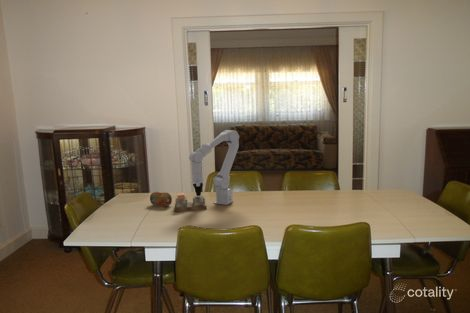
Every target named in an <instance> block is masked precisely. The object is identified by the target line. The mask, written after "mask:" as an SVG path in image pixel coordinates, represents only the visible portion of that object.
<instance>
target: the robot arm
mask: <svg viewBox="0 0 470 313" xmlns="http://www.w3.org/2000/svg"><path fill="white" fill-rule="evenodd" d="M239 139H240V135H239V133H238V131H236V130H231V129H230V130H229V129H225V130H223V131H221V132H220V133H219V134H218V135H216V137H215V138H213V139H212V140H211V141H210V142H209V143H202V145H201V147H199V148H198V149H195V151H192V152H190V155H189V156H188V159H189V161H190V162H191V164H190V165H191V176H192V180H190V183H193V184H192V186H193V188H194V191H195V194H196V195H195V196H202V188H203V181H204V180H203V168H202V162H203V159H204V158H206V156H208V155H209V154H210V153H211V152H212V150H213V149H214V148H215V147H217V146H218V145H219V144H221V143H222V142H226V144H227V145H228V150H227V152H226V154H225V158H224V160H223V163H222V166H221V168H220V171H219V172H217V173H216V176H215V177H214V179H213V181H212V182H213V185H214V186H215V197H216V199H215V201H214V202H213V204H217V205H225V206H226V205H227V206H228V205H229V204H232V203H233V202H234V200H233V198H234V197H233V190H232V189H231V188H229V186H230V180H231V176H230V172H231V170H232V166H233V164H234V161H235V158H236V156H237V153H238V150H239V148H240V147H239V146H240V143H239V141H240V140H239Z"/></svg>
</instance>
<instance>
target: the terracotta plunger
mask: <svg viewBox="0 0 470 313" xmlns="http://www.w3.org/2000/svg"><path fill="white" fill-rule="evenodd" d="M176 194H177V196H176V198H178V200H184V199H185V197H186V196H185V193H183V192H182V193H176Z"/></svg>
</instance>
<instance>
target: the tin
mask: <svg viewBox="0 0 470 313" xmlns="http://www.w3.org/2000/svg"><path fill="white" fill-rule="evenodd" d="M149 200H150V203H151V205H152V206H155V207H164V208H166V207H169V206H170V205H172V202H173V198H172V195H171V194H170V193H169V192H166V191H165V192H164V191H163V192H162V191H153V192H151V194H150V196H149Z"/></svg>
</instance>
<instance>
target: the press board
mask: <svg viewBox="0 0 470 313" xmlns="http://www.w3.org/2000/svg"><path fill="white" fill-rule="evenodd" d="M195 196H196V195H192V201H191V202H188V197H187V196H185V199H184V200H178V197H175V203H174V213H176V212H177V213H179V212H188V211H189V212H190V211H199V210H207V209H208V208H207V206H208V205H207V202H206V197H205V195H202V194H201V196H202V198H196V199H195Z"/></svg>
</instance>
